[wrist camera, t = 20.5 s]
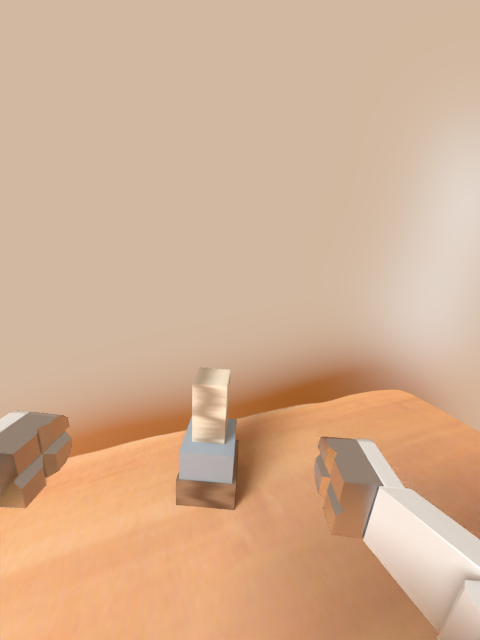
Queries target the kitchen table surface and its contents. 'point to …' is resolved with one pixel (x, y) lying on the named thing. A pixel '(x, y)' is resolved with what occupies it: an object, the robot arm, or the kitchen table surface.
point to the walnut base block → (208, 491)
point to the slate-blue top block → (208, 457)
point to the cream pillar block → (210, 405)
